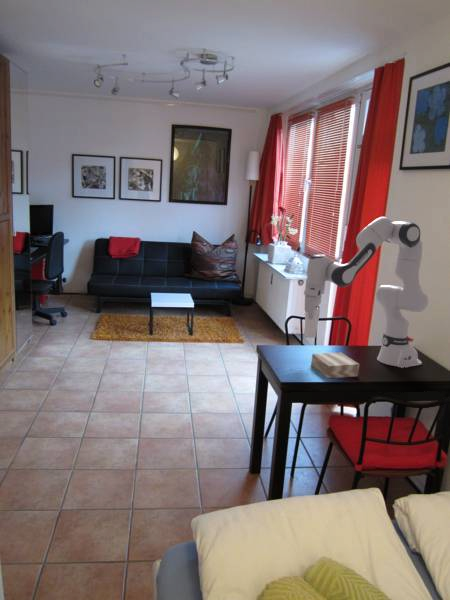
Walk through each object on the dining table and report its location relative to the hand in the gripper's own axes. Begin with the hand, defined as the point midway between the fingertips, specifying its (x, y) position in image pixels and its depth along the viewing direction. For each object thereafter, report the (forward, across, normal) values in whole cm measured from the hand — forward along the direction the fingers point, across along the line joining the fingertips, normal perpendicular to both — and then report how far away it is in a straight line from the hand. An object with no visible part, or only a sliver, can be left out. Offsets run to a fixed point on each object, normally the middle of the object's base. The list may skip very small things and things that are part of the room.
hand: (312, 316), depth 242 cm
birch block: (+24, +1, +13) cm, 28 cm away
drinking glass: (+10, 0, 0) cm, 10 cm away
